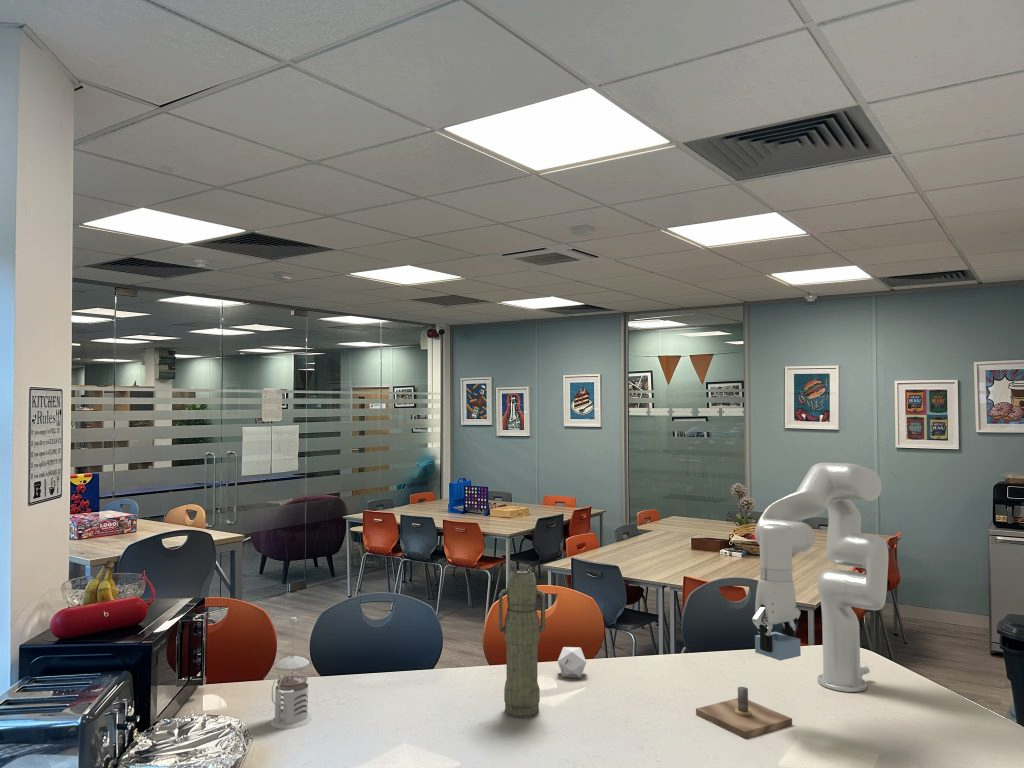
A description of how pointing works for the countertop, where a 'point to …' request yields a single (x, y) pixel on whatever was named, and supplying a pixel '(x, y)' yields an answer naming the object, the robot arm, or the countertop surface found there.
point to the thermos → (522, 643)
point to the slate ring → (780, 646)
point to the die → (572, 662)
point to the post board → (743, 716)
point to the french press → (291, 693)
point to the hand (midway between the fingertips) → (777, 648)
